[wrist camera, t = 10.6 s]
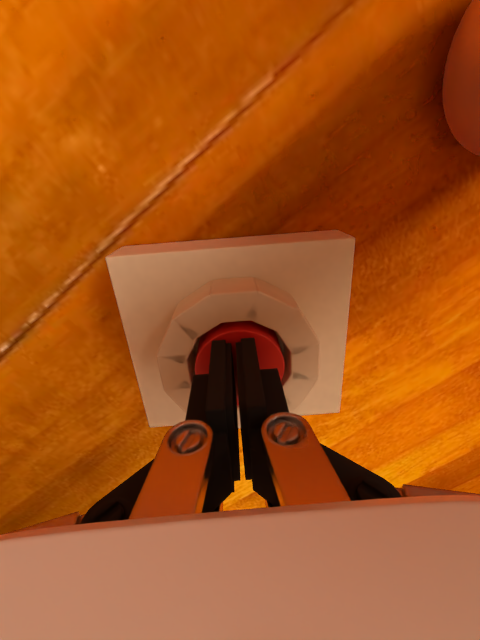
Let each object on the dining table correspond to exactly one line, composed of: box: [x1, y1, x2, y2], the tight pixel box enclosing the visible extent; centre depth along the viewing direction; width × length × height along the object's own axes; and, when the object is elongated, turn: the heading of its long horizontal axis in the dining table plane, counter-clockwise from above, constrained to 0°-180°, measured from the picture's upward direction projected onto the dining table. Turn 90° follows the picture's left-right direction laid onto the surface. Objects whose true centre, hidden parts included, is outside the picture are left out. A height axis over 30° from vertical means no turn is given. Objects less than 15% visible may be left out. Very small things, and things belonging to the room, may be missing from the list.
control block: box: [105, 230, 355, 428], centre depth 14 cm, size 10×9×4 cm
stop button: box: [195, 320, 285, 406], centre depth 13 cm, size 4×4×2 cm
